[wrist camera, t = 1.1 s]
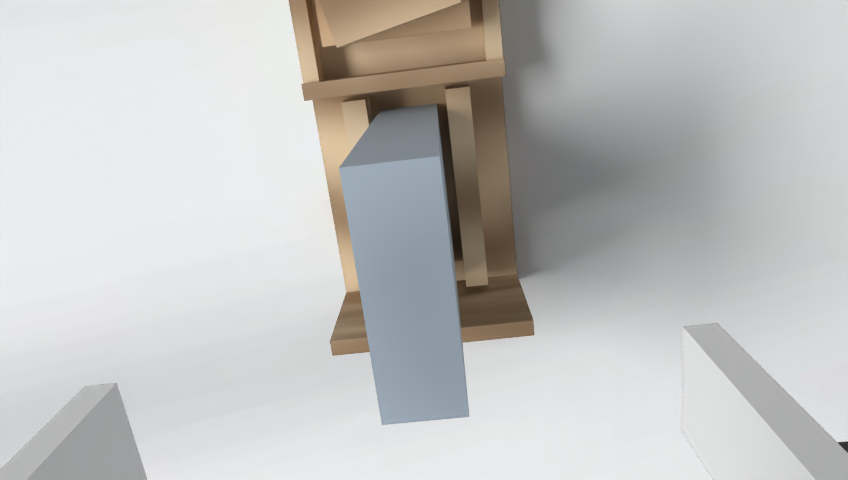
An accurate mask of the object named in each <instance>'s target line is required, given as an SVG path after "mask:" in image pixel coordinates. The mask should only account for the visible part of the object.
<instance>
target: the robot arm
mask: <svg viewBox="0 0 848 480" xmlns="http://www.w3.org/2000/svg"><path fill="white" fill-rule="evenodd" d="M681 431H682V433H683V434H684V436H685V437H686V439H687V441H688V442H689V444H690V445H691V447H692V448H693V450H694V452H695V453H696V455H697V456H698V458H699V459H700V461H701V463H702V464H703V466H704V467H705V469H706V471H707V472H708V474H709V475H710V477H711V478H712V480H848V442H836V441H835V440H834V439H833V438H832V437H831V436H830V435H829V434H828V433H827V432H826V431H825V430H824V429H823V428H822V427H821V426H820V425H819V424H818V423H817V422H816V421H815V420H814V419H813V418H812V417H811V416H810V415H809V414H808V413H807V412H806V411H805V410H804V409H803V408H802V407H801V406H800V405H799V404H798V403H797V402H796V401H795V400H794V399H793V398H792V397H791V396H790V395H789V394H788V393H787V392H786V391H785V390H784V389H783V388H782V387H781V386H780V385H779V384H778V383H777V382H776V381H775V380H774V379H773V378H772V377H771V376H770V375H769V374H768V373H767V372H766V371H765V370H764V369H763V368H762V367H761V366H760V365H759V364H758V363H757V362H756V361H755V360H754V359H753V358H752V357H751V356H750V355H749V354H748V353H747V352H746V351H745V350H744V349H743V348H742V347H741V346H740V345H739V344H738V343H737V342H736V341H735V340H734V339H733V338H732V337H731V336H730V335H729V334H728V333H727V332H726V331H725V330H724V329H723V328H722V327H721V326H720V325H719V324H718V323H714V324H704V325H694V326H684V327H683V351H682V426H681ZM0 480H147V477H146V474H145V471H144V468H143V465H142V462H141V458H140V455H139V452H138V449H137V446H136V443H135V439H134V436H133V433H132V430H131V427H130V424H129V421H128V417H127V414H126V411H125V408H124V405H123V402H122V398H121V395H120V392H119V389H118V386H117V383H110V384H100V385H90V386H85V387H84V388H83V389H82V390H81V391H80V392H79V393H78V394H77V395H76V396H75V397H74V398H73V399H72V400H71V401H70V402H68V403H67V404H66V405H65V406H64V407H63V408H62V409H61V410H60V411H59V412H58V413H57V414H56V415H55V416H54V417H53V418H52V419H51V420H50V421H49V422H48V423H47V424H46V425H45V426H44V427H43V428H42V429H41V430H40V431H39V432H38V433H37V434H36V435H35V436H34V437H33V438H32V439H31V440H30V441H29V442H28V443H27V444H26V445H25V446H24V447H23V448H22V449H21V450H20V451H19V452H18V453H17V454H16V455H15V456H14V457H13V458H12V459H11V460H10V461H9V462H8V463H7V464H6V465H5V466H4V467H3V468H2V469H1V470H0Z"/></svg>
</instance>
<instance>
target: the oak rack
mask: <svg viewBox="0 0 848 480" xmlns="http://www.w3.org/2000/svg"><path fill="white" fill-rule="evenodd" d="M289 5H290V11H291V16H292V22H293V27H294V33H295V39H296V44H297V50H298V55H299V61H300V66H301V72H302V78H303V83H304V84H302V90H303V95H304V101H307V100H313V105H314V111H315V116H316V122H317V128H318V133H319V139H320V145H321V150H322V156H323V162H324V167H325V173H326V179H327V185H328V190H329V196H330V202H331V207H332V213H333V219H334V224H335V230H336V236H337V241H338V247H339V253H340V258H341V264H342V270H343V275H344V281H345V287H346V296H345V299H344V301H343V304H342V307H341V310H340V313H339V316H338V319H337V322H336V325H335V328H334V331H333V334H332V337H331V340H330V344H331V349H332V355H333V356H334V355H344V354H354V353H364V352H370V350H369V344H368V338H367V332H366V326H365V320H364V314H363V308H362V302H361V296H360V291H359V285H358V279H357V273H356V267H355V261H354V255H353V249H352V243H351V237H350V231H349V225H348V219H347V213H346V207H345V201H344V196H343V190H342V184H341V178H340V172H339V167H340V166H341V164H342V163H343V161H344V160H345V159H346V157H347V156H348V154H349V153H350V152H351V150H352V149H353V148H354V146H355V145H356V143H357V142H358V141H359V139H360V138H361V136H362V135H363V134H364V132H365V131H366V130H367V128H368V127H369V125H370V124H371V123H372V121H373V120H374V118H375V117H376V116H377V114H378V113H379V112H380V110H385V109H393V108H401V107H409V106H417V105H425V104H434V103H437V110H438V119H439V128H440V136H441V145H442V154H443V163H444V172H445V181H446V190H447V199H448V208H449V216H450V225H451V234H452V243H453V252H454V261H455V271H456V282H457V292H458V303H459V313H460V324H461V334H462V342H472V341H482V340H492V339H501V338H511V337H521V336H531V335H534V324H533V318H532V315H531V313H530V310H529V307H528V304H527V301H526V298H525V296H524V293H523V290H522V287H521V284H520V281H519V279H518V276H517V268H516V255H515V242H514V230H513V217H512V204H511V191H510V179H509V166H508V153H507V140H506V128H505V115H504V102H503V89H502V77H501V76H506V74H505V61H504V59H503V50H502V37H501V24H500V11H499V0H469V6H470V17H471V28H469V29H461V30H453V31H446V32H438V33H430V34H422V35H415V36H407V37H399V38H391V39H383V40H376V41H368V42H360V43H354V44H351V45H348V46H346V47H339V48H337V47H336V46H327V47H322V42H321V36H320V30H319V24H318V18H317V12H316V6H315V0H289Z"/></svg>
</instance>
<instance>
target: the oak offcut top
mask: <svg viewBox="0 0 848 480" xmlns="http://www.w3.org/2000/svg"><path fill="white" fill-rule="evenodd" d="M319 1H320V4H321V7H322V10H323V12H324V15H325V18H326V20H327V23H328V26H329V28H330V31H331V34H332V37H333V39H334V42H335V45H336V47H337V48H339V47H346V46H348V45H351V44H354V43H357V42H359V41H362V40H365V39H367V38H370V37H373V36H376V35H378V34H381V33H384V32H387V31H389V30H392V29H395V28H398V27H400V26H403V25H406V24H409V23H411V22H414V21H417V20H419V19H422V18H425V17H428V16H430V15H433V14H436V13H439V12H441V11H444V10H447V9H450V8H452V7H455V6H458V5H459V4H460V3H461V0H319Z"/></svg>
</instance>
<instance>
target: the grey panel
mask: <svg viewBox="0 0 848 480" xmlns="http://www.w3.org/2000/svg"><path fill="white" fill-rule="evenodd" d="M339 172H340V178H341V184H342V190H343V196H344V201H345V207H346V213H347V219H348V225H349V231H350V237H351V243H352V249H353V255H354V261H355V267H356V273H357V279H358V285H359V291H360V296H361V302H362V308H363V314H364V320H365V326H366V332H367V338H368V344H369V350H370V356H371V362H372V368H373V374H374V380H375V386H376V392H377V397H378V403H379V409H380V415H381V421H382V425H387V424H397V423H408V422H419V421H429V420H440V419H450V418H461V417H469V408H468V397H467V387H466V376H465V366H464V355H463V345H462V334H461V324H460V313H459V303H458V292H457V282H456V271H455V261H454V252H453V243H452V234H451V225H450V216H449V208H448V199H447V190H446V181H445V172H444V163H443V154H442V145H441V136H440V128H439V119H438V110H437V103H434V104H425V105H417V106H409V107H401V108H393V109H385V110H380V112H379V113H378V114H377V116H376V117H375V118H374V120H373V121H372V123H371V124H370V125H369V127H368V128H367V130H366V131H365V132H364V134H363V135H362V136H361V138H360V139H359V141H358V142H357V143H356V145H355V146H354V148H353V149H352V150H351V152H350V153H349V154H348V156H347V157H346V159H345V160H344V161H343V163H342V164H341V166H340V167H339Z"/></svg>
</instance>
